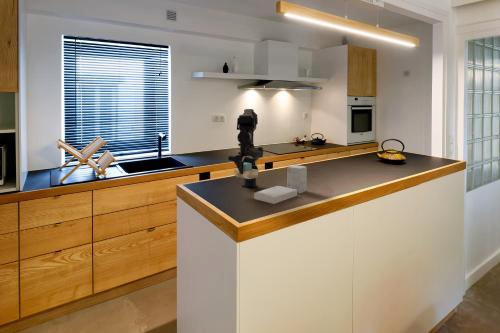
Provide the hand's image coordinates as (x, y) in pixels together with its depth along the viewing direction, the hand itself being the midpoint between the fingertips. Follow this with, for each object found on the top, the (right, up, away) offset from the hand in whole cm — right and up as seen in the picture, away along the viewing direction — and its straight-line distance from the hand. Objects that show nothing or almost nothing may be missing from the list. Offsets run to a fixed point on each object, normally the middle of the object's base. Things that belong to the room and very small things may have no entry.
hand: (246, 173), depth 155 cm
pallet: (0, -2, 0) cm, 2 cm away
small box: (+26, -10, +9) cm, 29 cm away
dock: (+14, -12, -2) cm, 18 cm away
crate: (0, +2, 0) cm, 2 cm away
